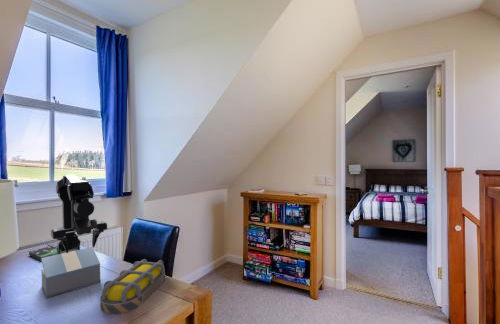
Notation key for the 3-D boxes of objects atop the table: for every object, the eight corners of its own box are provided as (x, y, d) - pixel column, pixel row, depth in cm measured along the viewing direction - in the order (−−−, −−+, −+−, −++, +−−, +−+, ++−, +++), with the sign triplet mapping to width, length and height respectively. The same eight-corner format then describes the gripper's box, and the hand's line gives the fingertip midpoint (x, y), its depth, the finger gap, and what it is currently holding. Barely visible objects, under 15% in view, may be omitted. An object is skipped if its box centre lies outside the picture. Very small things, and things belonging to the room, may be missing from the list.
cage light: (171, 257, 117) (129, 293, 87) (171, 275, 117) (129, 316, 88) (140, 255, 119) (89, 289, 90) (141, 273, 120) (90, 312, 90)
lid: (41, 260, 107) (41, 257, 106) (92, 248, 119) (92, 246, 119) (46, 279, 98) (46, 277, 98) (100, 265, 111) (100, 263, 110)
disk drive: (28, 257, 139) (41, 262, 132) (28, 251, 139) (40, 257, 132) (51, 250, 148) (64, 255, 141) (50, 245, 148) (64, 250, 141)
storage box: (42, 286, 107) (41, 269, 107) (92, 272, 120) (91, 257, 120) (46, 298, 98) (46, 280, 98) (100, 281, 111) (100, 265, 111)
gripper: (54, 220, 95) (56, 262, 96) (111, 211, 108) (111, 249, 109) (50, 214, 103) (51, 254, 104) (103, 207, 116) (103, 242, 117)
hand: (80, 250), depth 108 cm, fingers open, 9 cm apart
